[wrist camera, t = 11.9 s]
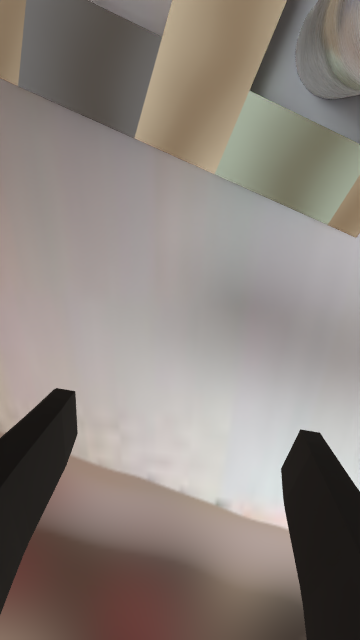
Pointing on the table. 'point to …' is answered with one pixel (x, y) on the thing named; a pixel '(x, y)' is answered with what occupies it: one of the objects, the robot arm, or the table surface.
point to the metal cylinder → (330, 49)
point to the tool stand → (186, 94)
